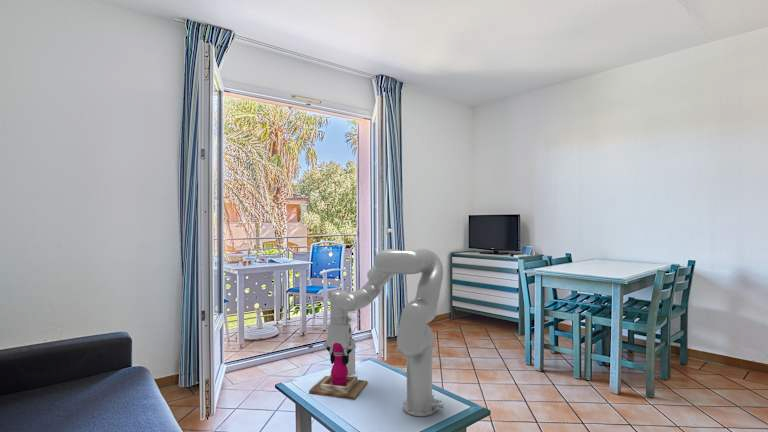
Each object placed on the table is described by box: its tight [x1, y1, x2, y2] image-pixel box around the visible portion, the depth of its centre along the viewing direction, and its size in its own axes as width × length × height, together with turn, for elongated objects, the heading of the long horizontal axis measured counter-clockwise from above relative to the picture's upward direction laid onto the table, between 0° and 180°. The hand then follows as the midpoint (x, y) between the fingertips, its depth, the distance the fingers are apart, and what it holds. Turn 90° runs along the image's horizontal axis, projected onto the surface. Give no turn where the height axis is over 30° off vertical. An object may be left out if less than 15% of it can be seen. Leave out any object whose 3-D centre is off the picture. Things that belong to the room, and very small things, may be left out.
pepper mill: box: [330, 343, 348, 386], centre depth 166 cm, size 7×7×20 cm
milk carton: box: [346, 338, 356, 376], centre depth 182 cm, size 7×7×19 cm
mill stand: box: [308, 374, 369, 401], centre depth 166 cm, size 20×16×3 cm
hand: (339, 363), depth 166 cm, fingers closed on pepper mill, 5 cm apart
